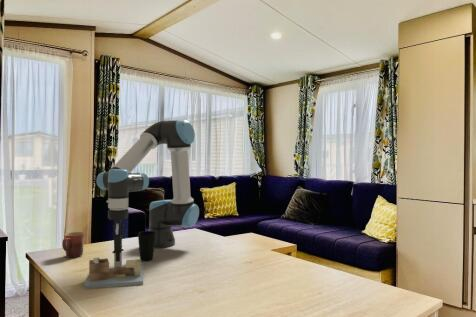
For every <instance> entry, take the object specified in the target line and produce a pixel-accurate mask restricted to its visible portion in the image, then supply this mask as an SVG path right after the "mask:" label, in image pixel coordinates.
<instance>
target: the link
mask: <svg viewBox="0 0 476 317" xmlns="http://www.w3.org/2000/svg"><path fill="white" fill-rule="evenodd" d="M88 262H89V263H88V276H89V278H90V282H91V281H99V280H107V279H109V278H111V277H117V274H125V276H127V275H134V268H125V267H117V268H109V266H110V261H109V259H108V258H100V260H99V263H95V264H94V263H93V259H89V261H88Z"/></svg>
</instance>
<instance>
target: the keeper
mask: <svg viewBox="0 0 476 317" xmlns="http://www.w3.org/2000/svg"><path fill="white" fill-rule="evenodd" d="M141 264H142V261H141V259H140V258H139V259H136V258H135V259H126V261H125V264H124V265H125V268H134V267H135V277H139V276H141ZM121 278H125V274H117V279H121Z"/></svg>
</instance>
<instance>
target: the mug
mask: <svg viewBox="0 0 476 317" xmlns="http://www.w3.org/2000/svg"><path fill="white" fill-rule="evenodd" d="M85 234H86V233H85V232H84V231H83V232H82V231H72V232H66V233H64V235H63V236H64V238H63V239H62V242H61V247H62V249H63V251H64V252H65V256H66V257H67V258H69V259H70V258H71V259H73V258H75V259H76V258H79V257H81V256H83V253H84V238H85Z"/></svg>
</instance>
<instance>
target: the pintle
mask: <svg viewBox="0 0 476 317" xmlns="http://www.w3.org/2000/svg"><path fill="white" fill-rule="evenodd" d="M100 259H101V258H100V257H94V258H93V259H92V260H93V263H94V264H95V263H99V260H100Z"/></svg>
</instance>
